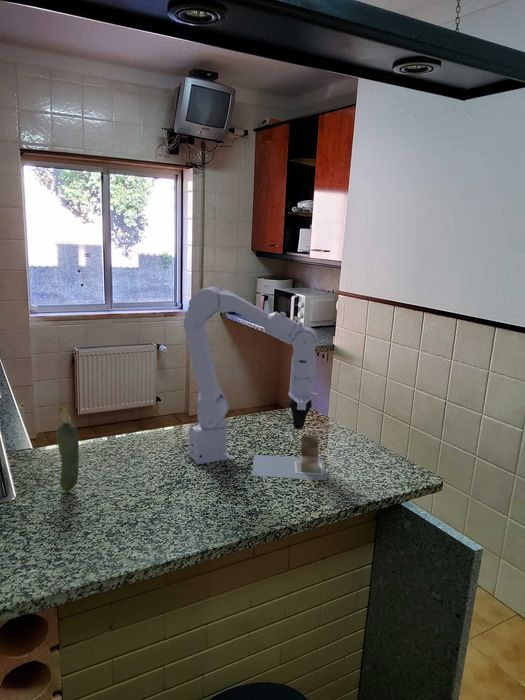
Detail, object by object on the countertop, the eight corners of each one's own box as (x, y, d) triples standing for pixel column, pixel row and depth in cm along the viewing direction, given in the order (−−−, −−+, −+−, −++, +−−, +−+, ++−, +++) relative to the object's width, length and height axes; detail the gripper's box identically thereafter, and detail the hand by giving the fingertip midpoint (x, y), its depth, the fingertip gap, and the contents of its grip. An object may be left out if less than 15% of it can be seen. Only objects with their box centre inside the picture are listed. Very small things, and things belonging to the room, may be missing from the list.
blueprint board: (251, 477, 121) (251, 475, 121) (254, 456, 133) (254, 454, 133) (326, 482, 121) (326, 479, 121) (322, 461, 133) (322, 458, 133)
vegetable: (81, 488, 112) (79, 402, 108) (78, 497, 108) (75, 409, 104) (60, 488, 112) (57, 402, 107) (56, 498, 107) (52, 409, 103)
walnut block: (301, 456, 124) (302, 440, 123) (300, 449, 128) (301, 434, 127) (317, 457, 124) (318, 441, 123) (316, 450, 128) (317, 435, 127)
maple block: (300, 471, 125) (302, 456, 124) (300, 464, 129) (301, 449, 128) (317, 472, 125) (318, 457, 124) (315, 465, 129) (317, 450, 128)
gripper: (320, 385, 117) (315, 440, 120) (316, 369, 131) (312, 419, 134) (290, 383, 117) (286, 438, 120) (289, 367, 131) (285, 417, 134)
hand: (298, 428), depth 127 cm, fingers closed
